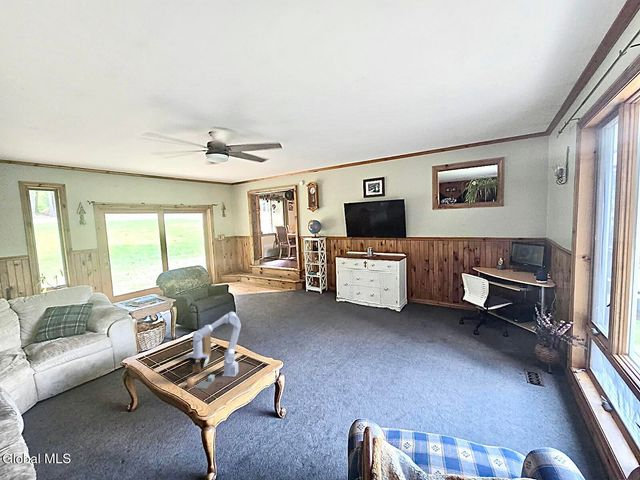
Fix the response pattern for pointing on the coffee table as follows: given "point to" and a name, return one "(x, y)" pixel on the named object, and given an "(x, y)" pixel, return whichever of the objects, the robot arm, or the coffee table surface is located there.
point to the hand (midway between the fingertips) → (198, 368)
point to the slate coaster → (203, 385)
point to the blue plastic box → (211, 378)
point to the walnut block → (197, 367)
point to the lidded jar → (205, 360)
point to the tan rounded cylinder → (190, 382)
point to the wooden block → (206, 344)
